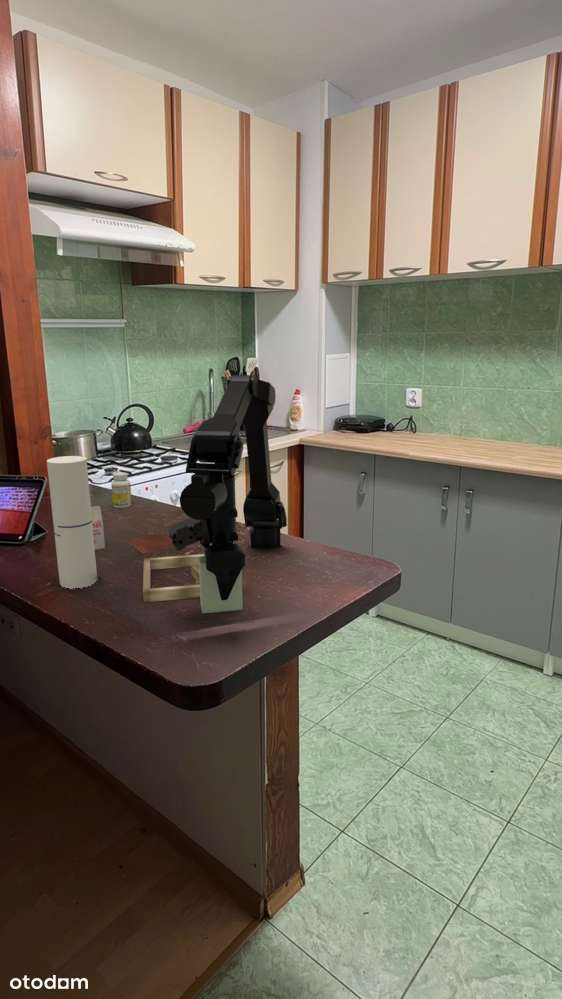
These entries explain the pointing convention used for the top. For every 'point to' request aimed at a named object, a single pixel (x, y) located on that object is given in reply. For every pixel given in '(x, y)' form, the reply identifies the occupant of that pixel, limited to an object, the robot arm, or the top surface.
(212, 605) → the sage green prism
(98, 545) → the white box
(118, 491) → the supplement bottle
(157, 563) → the rack
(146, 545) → the wooden tablet
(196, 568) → the tan flat block
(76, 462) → the cylindrical container
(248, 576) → the top surface
